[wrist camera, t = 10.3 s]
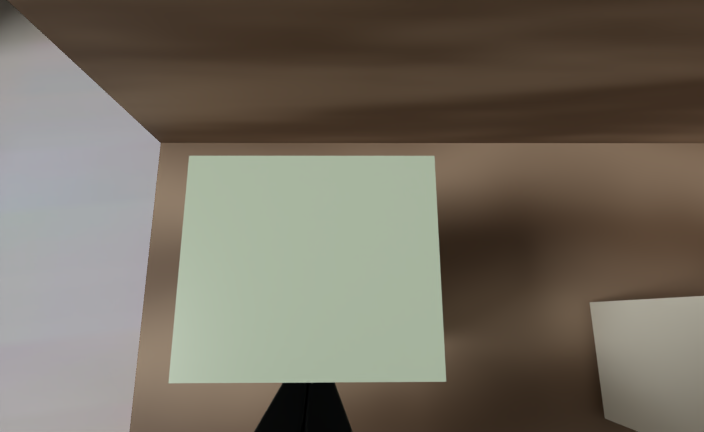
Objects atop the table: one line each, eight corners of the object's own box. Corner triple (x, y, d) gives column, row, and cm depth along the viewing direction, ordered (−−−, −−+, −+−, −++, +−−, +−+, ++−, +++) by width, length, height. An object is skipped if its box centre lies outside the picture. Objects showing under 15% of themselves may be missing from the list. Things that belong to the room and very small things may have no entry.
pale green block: (392, 346, 15) (446, 381, 7) (265, 346, 15) (168, 383, 7) (389, 237, 16) (434, 155, 8) (270, 237, 16) (189, 155, 8)
